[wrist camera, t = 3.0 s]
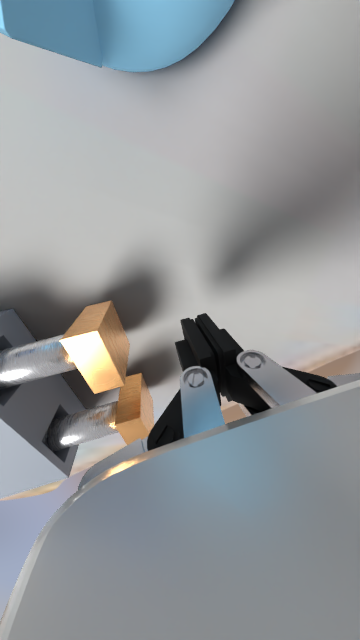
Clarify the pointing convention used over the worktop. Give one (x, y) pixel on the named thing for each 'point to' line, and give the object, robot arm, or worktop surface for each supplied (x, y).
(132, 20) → the teapot
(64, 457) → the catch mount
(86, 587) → the robot arm
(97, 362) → the knob
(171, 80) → the worktop surface
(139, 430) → the knob
